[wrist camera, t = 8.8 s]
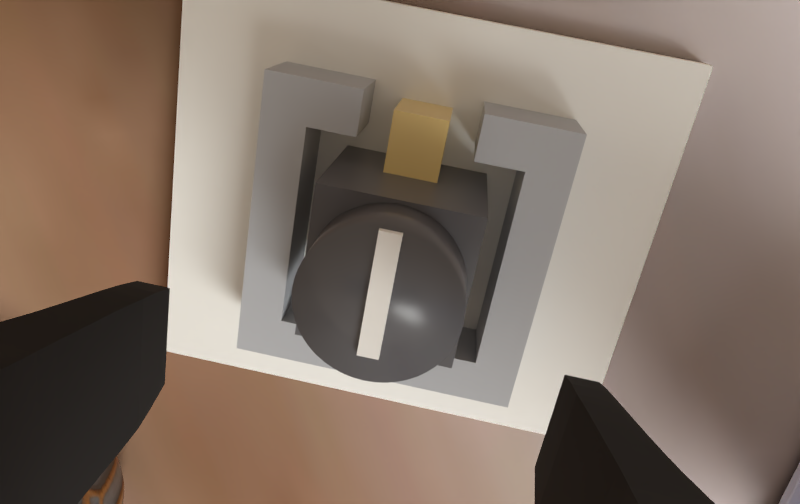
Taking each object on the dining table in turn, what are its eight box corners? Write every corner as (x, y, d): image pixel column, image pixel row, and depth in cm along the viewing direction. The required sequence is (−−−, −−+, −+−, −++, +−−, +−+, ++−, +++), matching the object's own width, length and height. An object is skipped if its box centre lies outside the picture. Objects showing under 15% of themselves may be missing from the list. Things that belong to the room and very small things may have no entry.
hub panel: (703, 63, 18) (741, 75, 15) (578, 427, 22) (591, 485, 20) (196, -37, 18) (149, -42, 16) (174, 339, 23) (135, 383, 20)
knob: (457, 299, 20) (448, 406, 15) (328, 272, 20) (275, 369, 15) (500, 117, 18) (507, 168, 13) (356, 88, 18) (306, 127, 13)
